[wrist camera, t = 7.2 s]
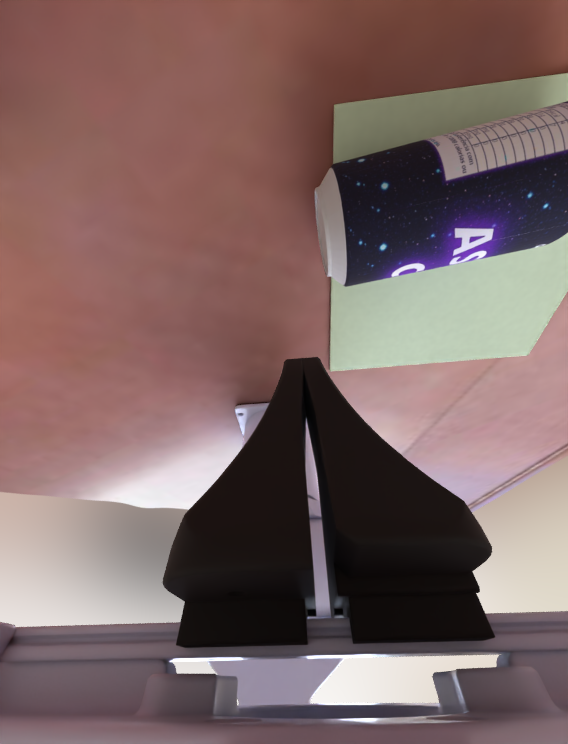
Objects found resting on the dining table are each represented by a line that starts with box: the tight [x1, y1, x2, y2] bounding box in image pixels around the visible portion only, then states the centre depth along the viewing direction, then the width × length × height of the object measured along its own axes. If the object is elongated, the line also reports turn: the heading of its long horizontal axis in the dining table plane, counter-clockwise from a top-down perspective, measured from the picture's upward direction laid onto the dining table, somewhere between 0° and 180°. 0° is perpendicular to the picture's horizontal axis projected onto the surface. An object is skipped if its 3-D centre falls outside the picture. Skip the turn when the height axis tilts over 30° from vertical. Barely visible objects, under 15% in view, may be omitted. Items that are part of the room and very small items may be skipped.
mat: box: [330, 73, 568, 371], centre depth 18 cm, size 17×17×1 cm
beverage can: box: [315, 101, 568, 287], centre depth 13 cm, size 6×6×12 cm
